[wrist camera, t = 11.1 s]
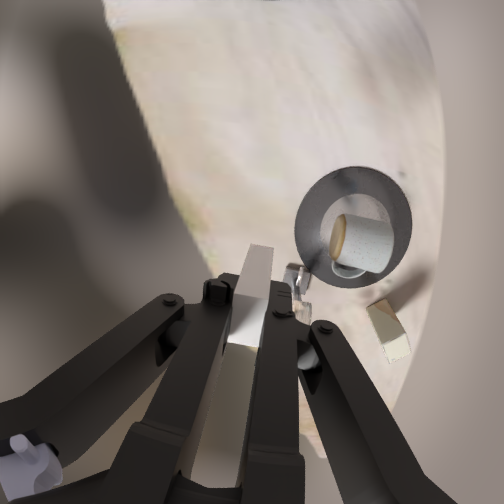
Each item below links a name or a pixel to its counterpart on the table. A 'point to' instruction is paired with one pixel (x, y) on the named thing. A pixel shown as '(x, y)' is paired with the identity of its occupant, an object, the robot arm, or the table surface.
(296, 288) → the dial stand
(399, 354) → the box
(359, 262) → the ceramic mug
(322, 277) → the platter
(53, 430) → the robot arm
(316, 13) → the table surface
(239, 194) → the table surface
